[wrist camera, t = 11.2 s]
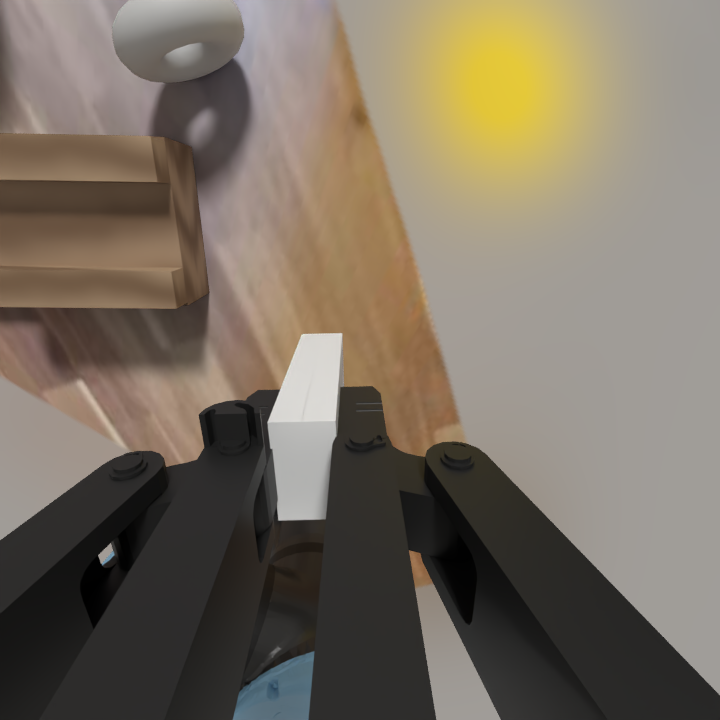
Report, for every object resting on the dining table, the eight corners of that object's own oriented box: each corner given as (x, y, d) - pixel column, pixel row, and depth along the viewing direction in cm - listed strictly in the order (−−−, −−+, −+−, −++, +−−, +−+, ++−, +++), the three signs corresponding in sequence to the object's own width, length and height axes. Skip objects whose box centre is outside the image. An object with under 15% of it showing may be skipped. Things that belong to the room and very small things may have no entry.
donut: (162, 101, 37) (98, 66, 28) (143, 58, 36) (70, 6, 26) (263, 60, 36) (231, 9, 27) (246, 14, 35) (208, -55, 25)
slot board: (209, 292, 43) (177, 311, 35) (49, 290, 43) (-20, 310, 35) (191, 146, 38) (149, 131, 30) (10, 143, 38) (-80, 127, 30)
